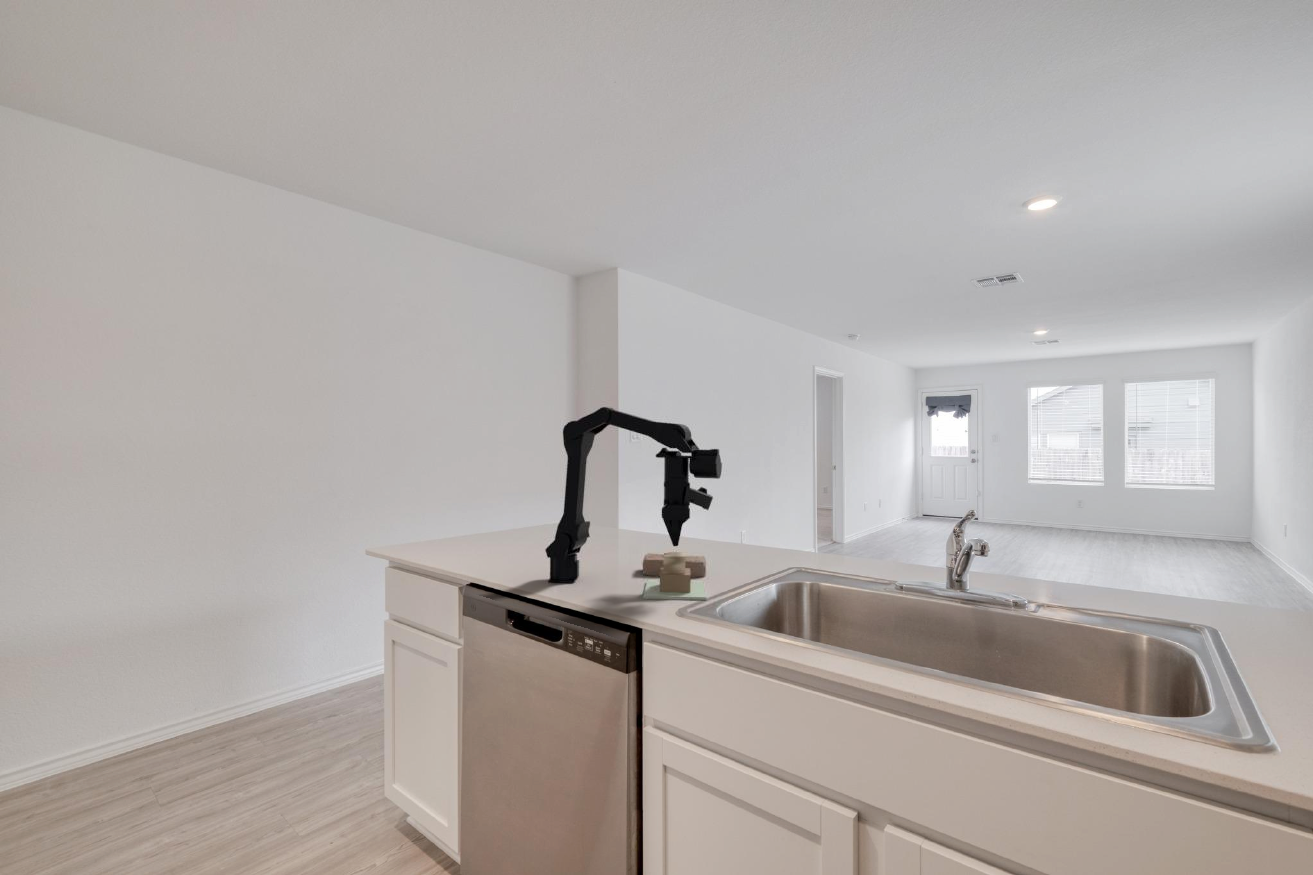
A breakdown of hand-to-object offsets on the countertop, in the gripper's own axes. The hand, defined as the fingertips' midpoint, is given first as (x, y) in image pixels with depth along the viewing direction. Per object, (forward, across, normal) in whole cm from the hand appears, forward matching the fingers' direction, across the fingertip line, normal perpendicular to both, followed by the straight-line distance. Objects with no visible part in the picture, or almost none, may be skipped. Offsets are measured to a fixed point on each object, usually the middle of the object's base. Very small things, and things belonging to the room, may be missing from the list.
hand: (675, 544), depth 135 cm
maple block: (+6, 0, 0) cm, 6 cm away
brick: (+12, +19, 0) cm, 22 cm away
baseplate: (+11, 0, 0) cm, 11 cm away
